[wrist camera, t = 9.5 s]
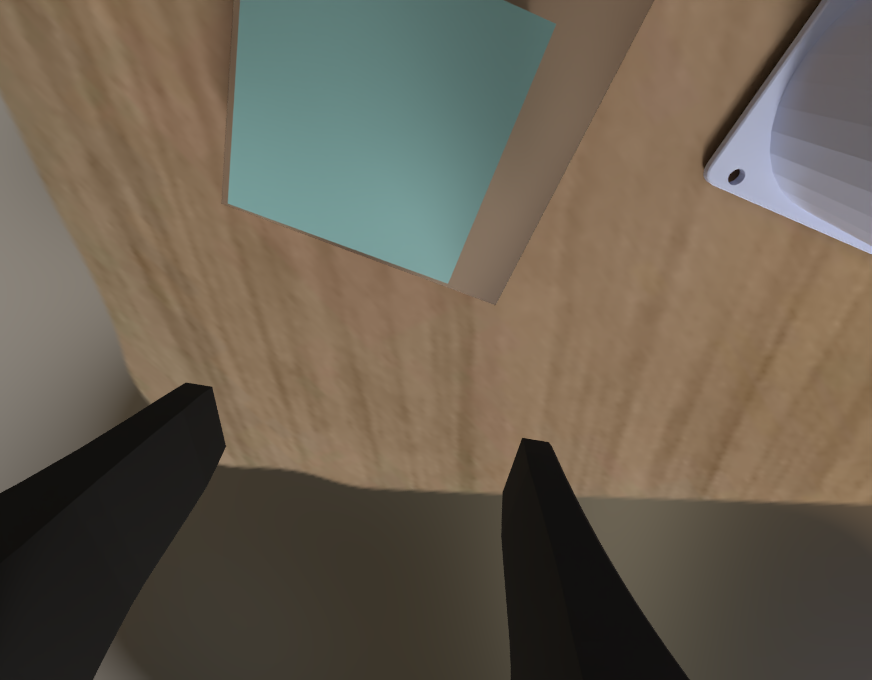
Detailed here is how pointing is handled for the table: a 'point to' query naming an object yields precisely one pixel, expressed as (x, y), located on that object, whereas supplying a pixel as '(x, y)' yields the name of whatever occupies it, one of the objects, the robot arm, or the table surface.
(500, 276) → the walnut base block
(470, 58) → the teal cube
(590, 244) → the table surface
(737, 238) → the table surface
